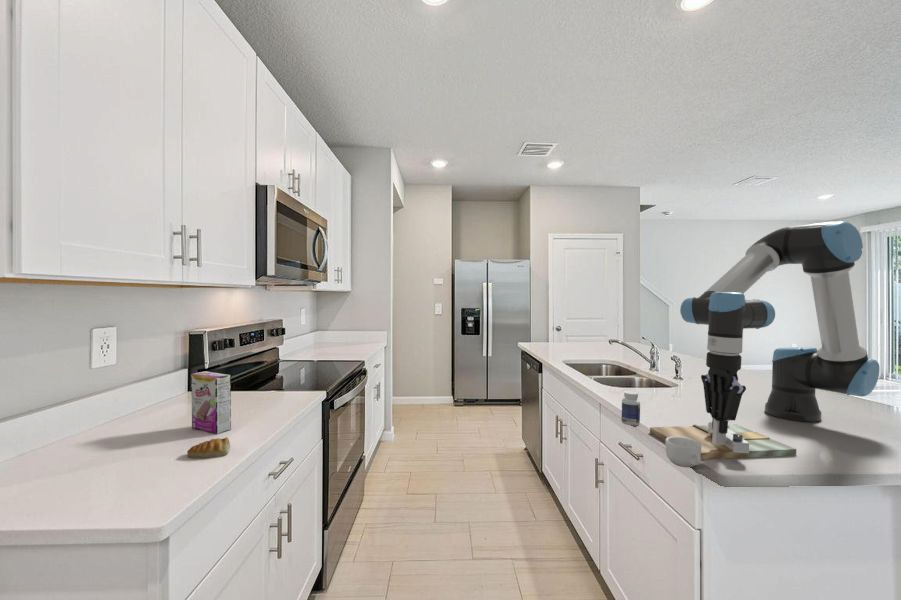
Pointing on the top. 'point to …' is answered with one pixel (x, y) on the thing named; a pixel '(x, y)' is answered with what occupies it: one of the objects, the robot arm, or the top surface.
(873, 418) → the top surface
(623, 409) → the pill bottle
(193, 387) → the candy bar box
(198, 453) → the pastry
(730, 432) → the latch arm
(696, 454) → the teacup
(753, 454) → the door board
